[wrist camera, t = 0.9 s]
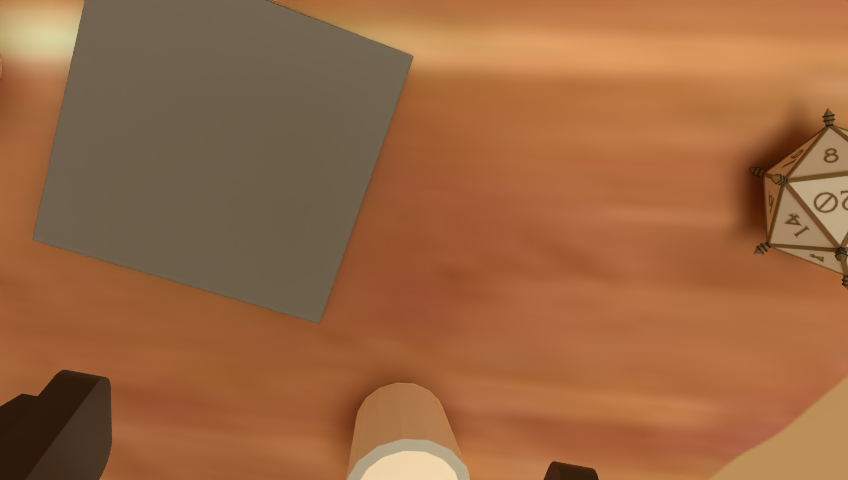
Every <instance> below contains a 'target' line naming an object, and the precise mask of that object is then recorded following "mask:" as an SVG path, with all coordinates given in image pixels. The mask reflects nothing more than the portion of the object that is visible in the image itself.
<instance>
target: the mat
mask: <svg viewBox="0 0 848 480" xmlns="http://www.w3.org/2000/svg"><path fill="white" fill-rule="evenodd" d="M412 59H413V56H411V55H409V54H406V53H403V52H401V51H398V50H395V49H393V48H390V47H388V46H385V45H382V44H380V43H377V42H374V41H372V40H369V39H367V38H364V37H361V36H359V35H356V34H353V33H351V32H348V31H346V30H343V29H340V28H338V27H335V26H332V25H330V24H327V23H325V22H322V21H319V20H317V19H314V18H311V17H309V16H306V15H303V14H301V13H298V12H296V11H293V10H290V9H288V8H285V7H282V6H280V5H277V4H275V3H272V2H269V1H267V0H85V2H84V7H83V11H82V16H81V20H80V25H79V29H78V34H77V38H76V43H75V47H74V52H73V57H72V61H71V66H70V70H69V75H68V79H67V84H66V88H65V93H64V98H63V102H62V107H61V111H60V116H59V120H58V125H57V129H56V134H55V139H54V143H53V148H52V152H51V157H50V161H49V166H48V170H47V175H46V180H45V184H44V189H43V193H42V198H41V202H40V207H39V211H38V216H37V220H36V225H35V230H34V234H33V239H32V240H34V241H37V242H40V243H44V244H47V245H51V246H54V247H58V248H61V249H64V250H68V251H71V252H75V253H78V254H82V255H85V256H88V257H92V258H95V259H99V260H102V261H105V262H109V263H112V264H116V265H119V266H123V267H126V268H129V269H133V270H136V271H140V272H143V273H147V274H150V275H153V276H157V277H160V278H164V279H167V280H170V281H174V282H177V283H181V284H184V285H188V286H191V287H194V288H198V289H201V290H205V291H208V292H212V293H215V294H218V295H222V296H225V297H229V298H232V299H235V300H239V301H242V302H246V303H249V304H253V305H256V306H259V307H263V308H266V309H270V310H273V311H277V312H280V313H283V314H287V315H290V316H294V317H297V318H300V319H304V320H307V321H311V322H314V323H318V324H319V323H320V320H321V318H322V315H323V312H324V309H325V306H326V303H327V301H328V298H329V295H330V292H331V289H332V286H333V283H334V281H335V278H336V275H337V272H338V269H339V266H340V264H341V261H342V258H343V255H344V252H345V249H346V247H347V244H348V241H349V238H350V235H351V232H352V230H353V227H354V224H355V221H356V218H357V215H358V212H359V210H360V207H361V204H362V201H363V198H364V195H365V193H366V190H367V187H368V184H369V181H370V178H371V176H372V173H373V170H374V167H375V164H376V161H377V159H378V156H379V153H380V150H381V147H382V144H383V141H384V139H385V136H386V133H387V130H388V127H389V124H390V122H391V119H392V116H393V113H394V110H395V107H396V105H397V102H398V99H399V96H400V93H401V90H402V88H403V85H404V82H405V79H406V76H407V73H408V71H409V68H410V65H411V62H412Z"/></svg>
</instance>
